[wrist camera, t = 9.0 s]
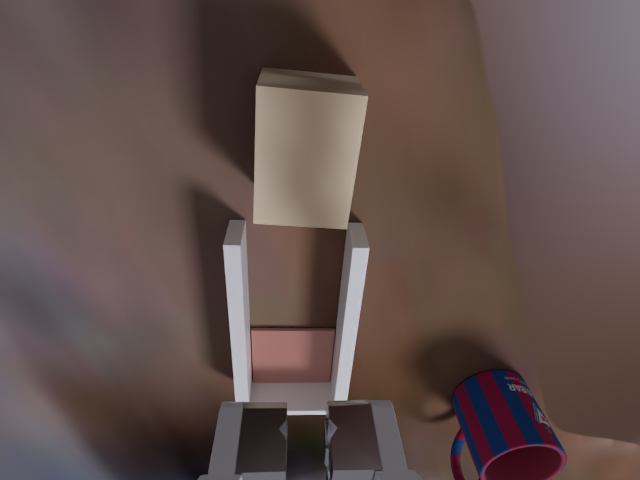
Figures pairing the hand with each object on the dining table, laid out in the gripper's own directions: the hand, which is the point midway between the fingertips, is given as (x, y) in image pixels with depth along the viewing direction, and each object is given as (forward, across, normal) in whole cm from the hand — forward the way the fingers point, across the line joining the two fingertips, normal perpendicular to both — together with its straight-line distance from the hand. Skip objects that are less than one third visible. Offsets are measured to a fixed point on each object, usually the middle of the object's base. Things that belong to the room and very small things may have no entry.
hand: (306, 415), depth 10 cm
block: (+17, 0, -1) cm, 17 cm away
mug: (+18, -17, +24) cm, 34 cm away
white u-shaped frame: (+17, 0, +13) cm, 21 cm away
